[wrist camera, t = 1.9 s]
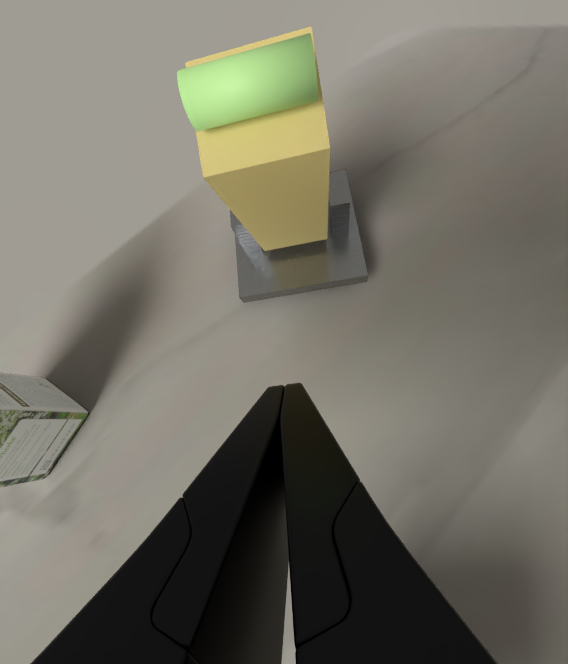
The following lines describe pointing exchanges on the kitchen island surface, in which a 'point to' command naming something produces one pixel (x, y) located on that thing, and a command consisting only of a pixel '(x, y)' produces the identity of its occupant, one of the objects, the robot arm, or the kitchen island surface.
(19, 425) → the syrup box
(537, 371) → the kitchen island surface
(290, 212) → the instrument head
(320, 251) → the base
